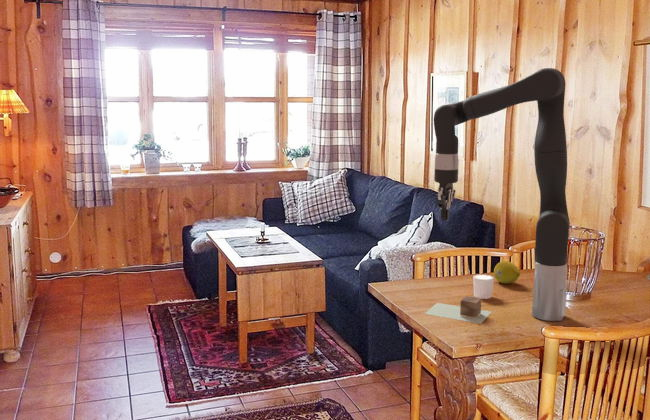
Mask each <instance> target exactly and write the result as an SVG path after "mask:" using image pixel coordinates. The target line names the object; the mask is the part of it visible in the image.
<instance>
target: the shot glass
mask: <svg viewBox="0 0 650 420" xmlns="http://www.w3.org/2000/svg"><path fill="white" fill-rule="evenodd" d="M472 278H473V280H472V283H473V284H472V285H473V297H476V298H481V300H484V299H485V300H487V299H491V298H492V296H493V295H492V294H493V287H494V281H495V276H492V275H489V274H480V273H479V274H475V275H473V276H472Z"/></svg>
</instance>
